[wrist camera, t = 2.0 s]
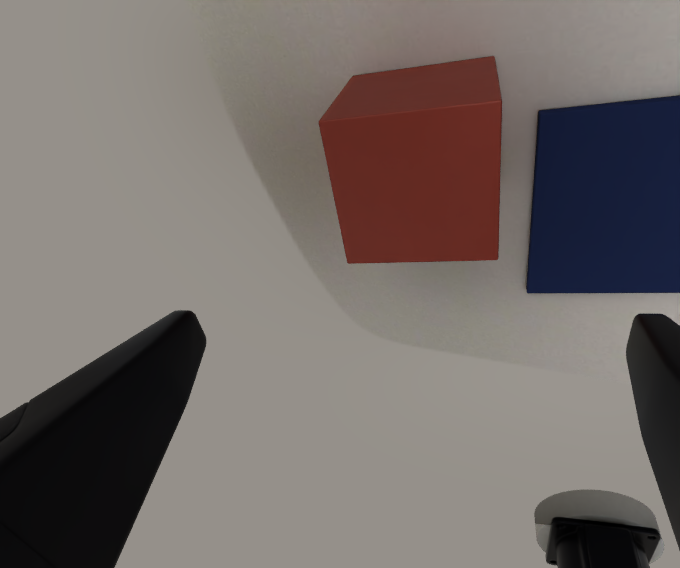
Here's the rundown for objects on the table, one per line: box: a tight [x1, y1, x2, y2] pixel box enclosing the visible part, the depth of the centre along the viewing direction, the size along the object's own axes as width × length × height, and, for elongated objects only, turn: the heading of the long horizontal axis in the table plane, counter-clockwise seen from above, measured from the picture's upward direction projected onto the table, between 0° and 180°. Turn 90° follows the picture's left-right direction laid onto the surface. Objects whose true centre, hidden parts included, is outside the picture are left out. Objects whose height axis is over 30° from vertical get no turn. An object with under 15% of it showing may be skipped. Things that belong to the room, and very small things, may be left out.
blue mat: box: [526, 96, 680, 293], centre depth 17 cm, size 8×8×1 cm
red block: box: [319, 56, 502, 264], centre depth 16 cm, size 5×5×5 cm
